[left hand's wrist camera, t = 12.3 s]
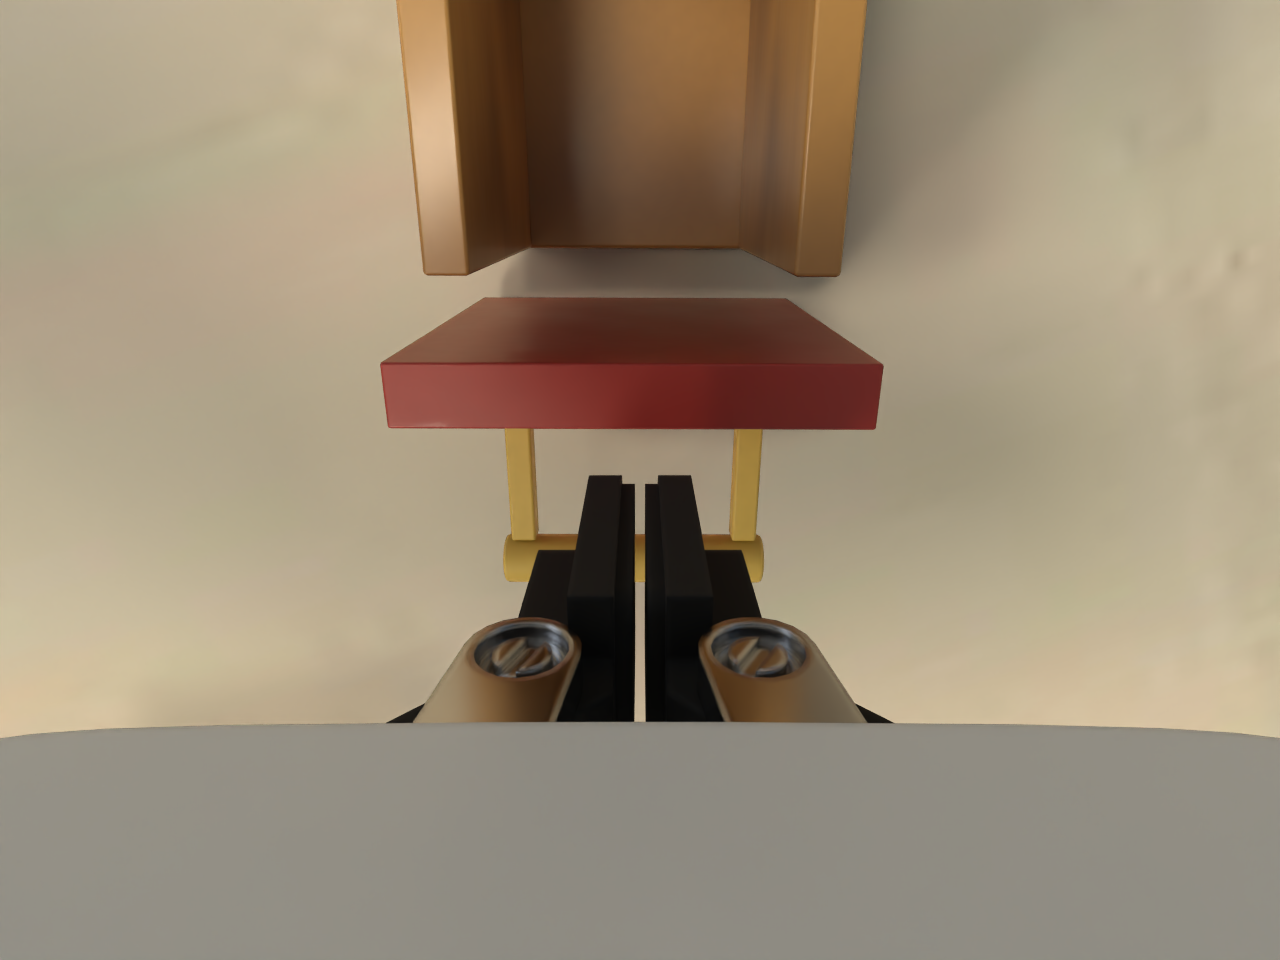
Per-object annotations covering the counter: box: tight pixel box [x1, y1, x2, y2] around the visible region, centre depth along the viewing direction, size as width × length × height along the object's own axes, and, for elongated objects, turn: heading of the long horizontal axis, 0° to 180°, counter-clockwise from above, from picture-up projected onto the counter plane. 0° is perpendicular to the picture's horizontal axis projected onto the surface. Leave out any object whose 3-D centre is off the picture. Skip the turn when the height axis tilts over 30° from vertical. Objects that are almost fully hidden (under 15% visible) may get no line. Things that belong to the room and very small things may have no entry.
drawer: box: [380, 0, 883, 582], centre depth 15 cm, size 25×9×9 cm, turn 0°
